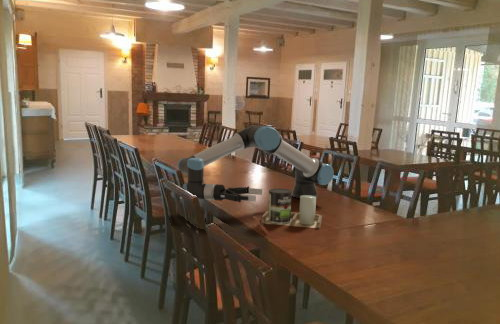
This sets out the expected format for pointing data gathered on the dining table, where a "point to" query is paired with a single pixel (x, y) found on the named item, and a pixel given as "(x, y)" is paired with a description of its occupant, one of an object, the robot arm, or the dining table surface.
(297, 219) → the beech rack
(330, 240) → the dining table surface
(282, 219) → the coffee can
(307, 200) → the sage jar
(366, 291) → the dining table surface
